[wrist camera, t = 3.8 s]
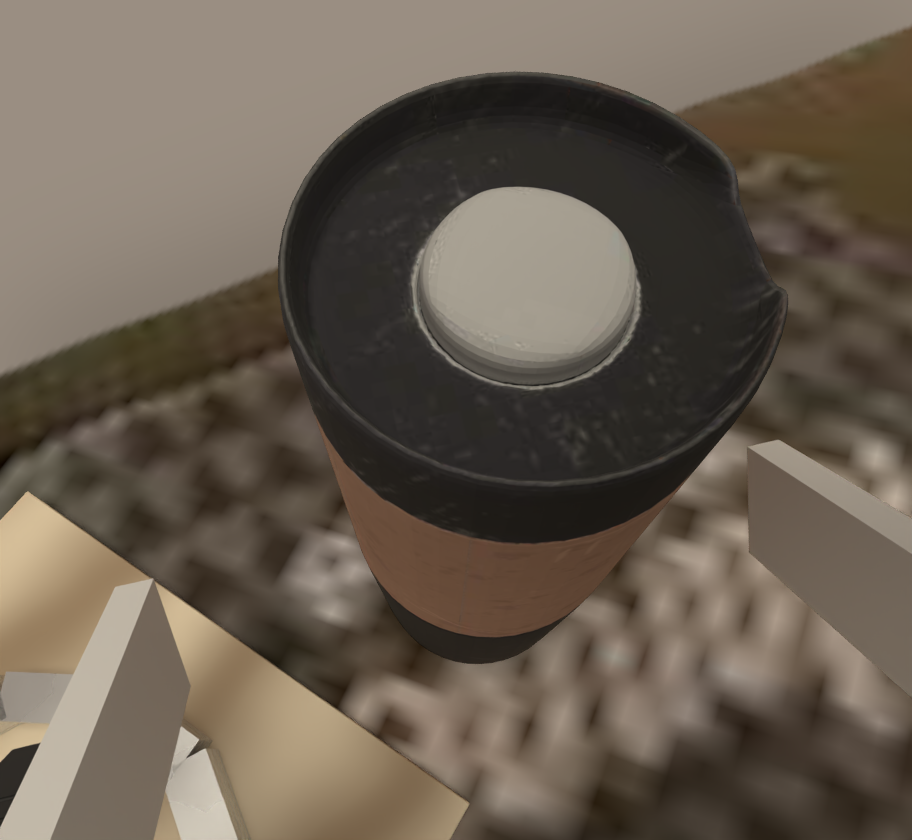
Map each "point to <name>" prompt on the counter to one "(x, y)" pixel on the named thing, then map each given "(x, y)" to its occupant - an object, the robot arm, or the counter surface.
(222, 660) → the dock board
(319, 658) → the counter surface
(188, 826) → the dock collar
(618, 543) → the travel mug
